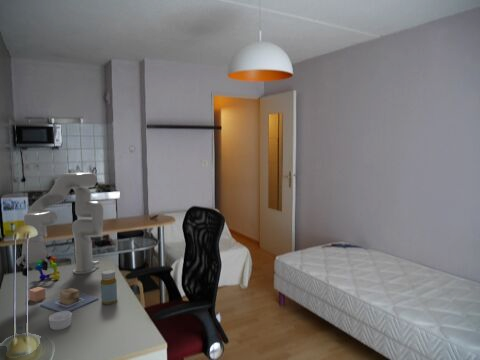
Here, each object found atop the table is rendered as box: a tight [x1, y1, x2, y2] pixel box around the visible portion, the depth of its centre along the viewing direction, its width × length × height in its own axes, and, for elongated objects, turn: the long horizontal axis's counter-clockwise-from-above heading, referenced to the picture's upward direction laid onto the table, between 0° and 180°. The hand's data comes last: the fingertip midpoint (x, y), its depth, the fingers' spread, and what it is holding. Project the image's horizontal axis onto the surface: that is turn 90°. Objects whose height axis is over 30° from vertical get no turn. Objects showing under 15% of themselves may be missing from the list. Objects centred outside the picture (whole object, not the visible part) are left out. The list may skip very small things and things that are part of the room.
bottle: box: [100, 269, 118, 305], centre depth 173 cm, size 7×7×15 cm
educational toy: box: [35, 253, 60, 281], centre depth 203 cm, size 16×13×15 cm
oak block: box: [59, 287, 80, 305], centre depth 173 cm, size 6×6×5 cm
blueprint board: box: [40, 292, 99, 313], centre depth 173 cm, size 18×18×1 cm
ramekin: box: [48, 311, 73, 331], centre depth 150 cm, size 9×9×4 cm
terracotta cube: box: [28, 286, 46, 303], centre depth 177 cm, size 5×5×5 cm
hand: (35, 272), depth 176 cm, fingers open, 9 cm apart
